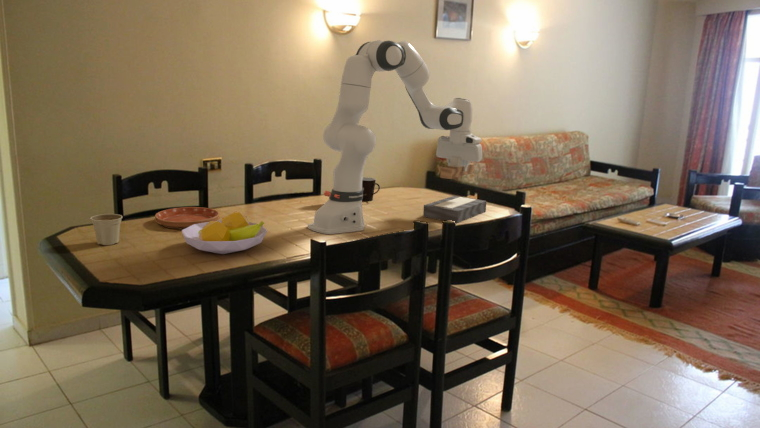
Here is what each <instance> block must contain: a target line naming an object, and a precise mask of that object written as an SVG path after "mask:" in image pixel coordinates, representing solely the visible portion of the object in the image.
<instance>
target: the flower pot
mask: <svg viewBox="0 0 760 428" xmlns="http://www.w3.org/2000/svg"><path fill="white" fill-rule="evenodd" d="M122 219H123V215H122V214H117V213H104V214H97V215H92V216H91V217H90V219H89V220H90V221H91V222H92V225H93V229H94V232H95V233H94V234H95V237H96V243H97V245H100V246H101V245H103V246H111V245H115V244H117V243H119V241H120V231H121V230H120V229H121V223H122Z"/></svg>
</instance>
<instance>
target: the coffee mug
mask: <svg viewBox="0 0 760 428" xmlns="http://www.w3.org/2000/svg"><path fill="white" fill-rule="evenodd" d="M376 185H377V187H378V188H377V190H376V191H375V188H376V187H375V186H376ZM380 189H381V187H380V185H379V183H377V182H376V178H375V177H368V176H367V177H364V176H363V179H362V190H363V199H362V202H372V201H373V199H374V195H376V194H378V192H380Z"/></svg>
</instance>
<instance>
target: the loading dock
mask: <svg viewBox="0 0 760 428" xmlns="http://www.w3.org/2000/svg"><path fill="white" fill-rule="evenodd" d="M422 212H423V214H422V216H424V217H423V218H427V217H428V219H433V218H434V219H433V220H438V219H440V220H439V221H443V220H452V221H455V222H456V224H459V223H461V222H464V221H466V220H468V219H472V218H473V217H476V216H479V215H481V214H484V213H486V212H487V200H482V199H476V198H470V197H465V196H458V195H452V196H449V197H445V198H443V199H439V200H437V201H433V202H429V203H426V204H423V211H422Z"/></svg>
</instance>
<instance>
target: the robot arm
mask: <svg viewBox="0 0 760 428" xmlns="http://www.w3.org/2000/svg"><path fill="white" fill-rule="evenodd" d="M344 64H345V65H344V67H343V72H342V77H341V82H340V88H339V89H340V90H339V96H338V102H337V107H336V111H335V113H334V115H333V117H332V119H331V121H330V123H329V124H328V125H327V126H326V127H325V128H324V131H323V134H322V136H323V141H324V144H325V145H326V146H327V147H329V148H330V149H332V150H333V151H335V152H336V151H337V152H340V153H341V155H340V158H339V161H338V163H337V165H336V166H334V168H333V177H332V178H333V179H332V180H333V181H332V183H333V184H332V189H331V191H329V190H325V191H323V195H324V197H327V198H328V200H327V201H326V202H325V203H323V204H322V205H321V206H320V207H319V208H318V209H317V210H316V211H315V214H314V218H313V222H311V223H308V224H307V228H308V229H309V230H310V231H314V232H317V233H319V234H324V235H333V234H334V235H335V234H344V233H353V232H360V231H365V227H366V223H365V220H364V213H363V201H362V199H363V190H362V179H363V177H364V176H363V175H364V168H365V165H366V162H367V158H368V156H369V155H370V154H371V153H372V152H373V151H374V150H375V148H376V145H377V137H376V134H375V133H374V131H372V130H371V129H370V128H368V127H366V126H364V125H361V124H359V123H360V120H361V118H362V116H363V115H364V114H365V113H366V112H367V111H368V108H369V103H370V97H371V90H372V89H371V88H372V79H373V76H374V74H375V72H391V71H395V72H396V73H397V75H398V77H399V78H400V79H401V81H402V82H403V84H404V86H405V87H404V88H405V90H406V92H407V94H408V96H409V98H410V99H411V101H412V103H413V105H414V106H415V109H416V110H417V113H418V117H419V120H420V123H421V125H422V126H423V127H424V128H426V129H428V130H430V129H431V130H441V131H449V136H448V135H447V136H444V135H441V136H439V137H438V138H437V146H436V152H435V153H436V154H435V156H436V157H437V158H441V159H446V163H447V166H450V157H452V156H454V157H461V160H465V163H466V165H465V166H464V167H462V171H467V167H468V165H469V164H470V163H471V162H474V163H479V162H481V161H482V160H483V145H482V144H481V143H482V140H483V139H482V138H481V137H480V136H477V135H475V134H473V133H472V126H471V125H472V121H473V104H472V101H470V100H469V99H465V98H461V97H455V98H453V100H452V101H451V102H449V103H447V104H445V105H442V106H441V105H436V104H434V103H432V102H431V101H430V99H429V97H428V96H427V94H426V92H425V90H424V86H426V84H427V83H428V81H429V79H430V75H431V74H430V73H431V72H430V70H429V66H428V65H427V63H426V62H425V60H424V59H423V58H422V56H421V54H420V53H419V52H418V50H416V49H415V47H414V46H413V45H412V44H411V43H410V42H408V41H406V40H400V41H398V42H395V41H394V40H380V39H379V40H378V39H377V40H373V41H367V42H365V43H362V44H361V46H359V48H358V49H357V52H356V54H353V55H350V56H349V57H348V58H347V59H346V62H345V63H344Z"/></svg>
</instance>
